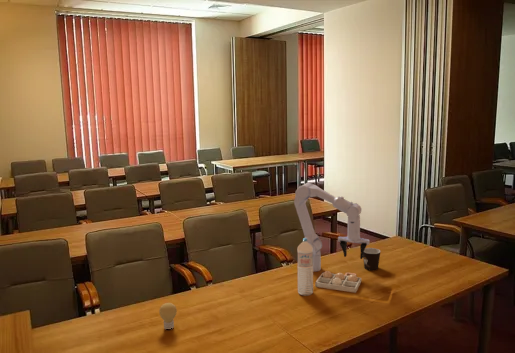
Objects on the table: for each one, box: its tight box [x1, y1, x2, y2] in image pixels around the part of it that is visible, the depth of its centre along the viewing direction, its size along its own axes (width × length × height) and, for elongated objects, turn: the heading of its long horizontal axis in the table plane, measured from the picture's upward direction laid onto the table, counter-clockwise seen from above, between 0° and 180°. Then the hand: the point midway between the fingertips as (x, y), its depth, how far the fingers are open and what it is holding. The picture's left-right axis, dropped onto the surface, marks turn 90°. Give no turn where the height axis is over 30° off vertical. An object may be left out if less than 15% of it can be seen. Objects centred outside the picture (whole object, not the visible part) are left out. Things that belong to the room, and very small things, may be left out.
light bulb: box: [158, 302, 178, 330], centre depth 166 cm, size 6×6×10 cm
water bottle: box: [296, 237, 314, 297], centre depth 192 cm, size 7×7×25 cm
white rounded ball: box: [332, 277, 342, 286], centre depth 197 cm, size 4×4×4 cm
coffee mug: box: [362, 247, 381, 271], centre depth 219 cm, size 12×9×10 cm
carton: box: [314, 270, 362, 294], centre depth 200 cm, size 18×12×5 cm
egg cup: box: [344, 272, 357, 276], centre depth 209 cm, size 6×6×2 cm
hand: (353, 257), depth 209 cm, fingers open, 7 cm apart
